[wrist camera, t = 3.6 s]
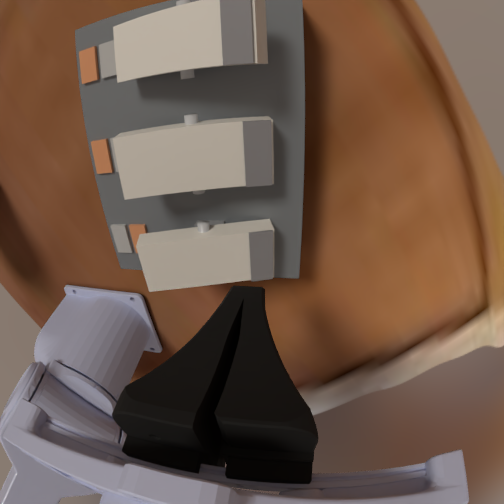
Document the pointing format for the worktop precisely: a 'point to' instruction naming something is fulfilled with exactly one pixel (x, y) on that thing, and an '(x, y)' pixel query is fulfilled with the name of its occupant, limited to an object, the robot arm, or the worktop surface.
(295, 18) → the switch box
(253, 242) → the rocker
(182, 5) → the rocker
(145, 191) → the middle rocker
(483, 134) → the worktop surface
